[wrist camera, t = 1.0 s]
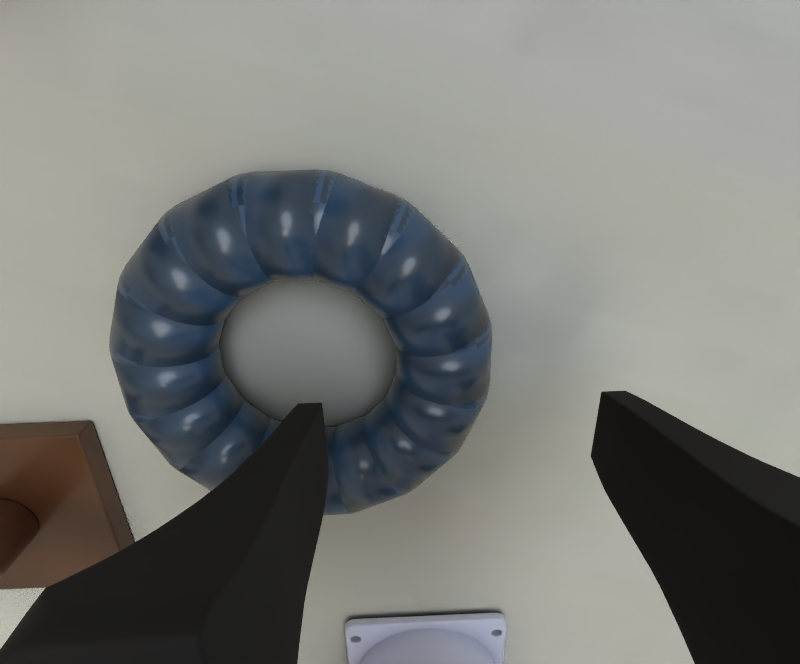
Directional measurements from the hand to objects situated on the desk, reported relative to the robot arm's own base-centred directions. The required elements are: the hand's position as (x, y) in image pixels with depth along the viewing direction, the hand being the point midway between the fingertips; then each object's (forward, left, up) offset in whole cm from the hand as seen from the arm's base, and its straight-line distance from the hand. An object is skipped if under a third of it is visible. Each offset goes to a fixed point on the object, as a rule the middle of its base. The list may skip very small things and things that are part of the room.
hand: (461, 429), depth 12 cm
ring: (0, +5, -4) cm, 6 cm away
